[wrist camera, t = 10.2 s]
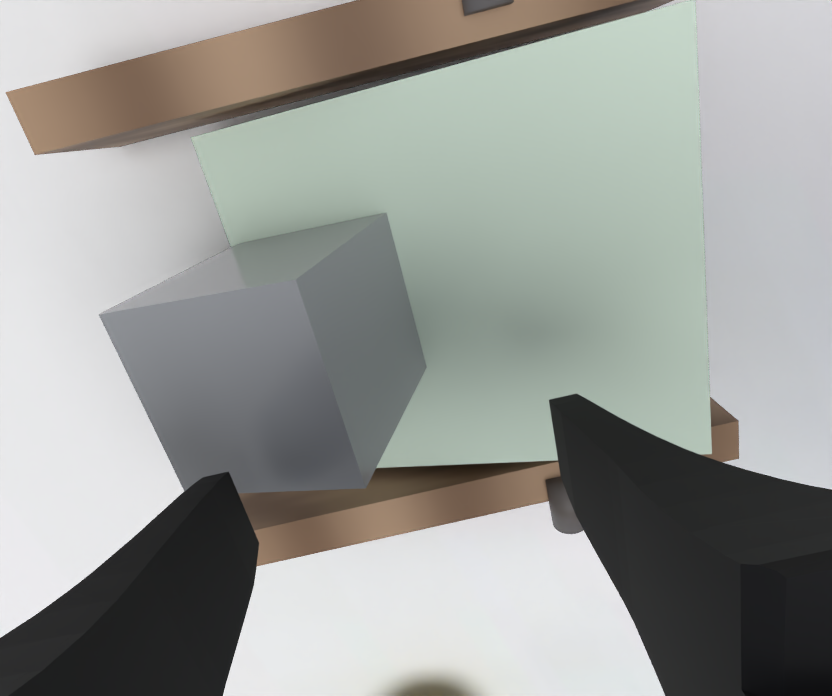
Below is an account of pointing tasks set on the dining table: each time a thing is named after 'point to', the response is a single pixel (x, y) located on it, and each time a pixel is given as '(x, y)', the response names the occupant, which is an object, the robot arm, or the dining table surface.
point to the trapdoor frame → (297, 80)
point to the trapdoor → (515, 229)
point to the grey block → (277, 358)
